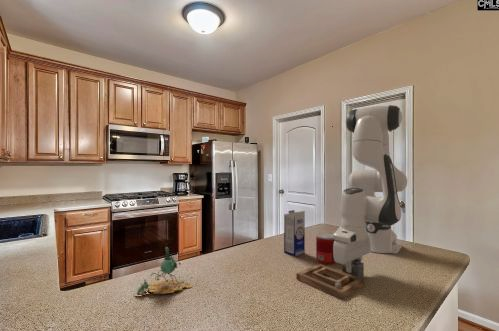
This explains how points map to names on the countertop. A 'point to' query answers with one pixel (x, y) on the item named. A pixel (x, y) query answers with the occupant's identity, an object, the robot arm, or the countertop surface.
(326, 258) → the canned food
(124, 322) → the countertop surface
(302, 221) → the milk carton
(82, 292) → the countertop surface
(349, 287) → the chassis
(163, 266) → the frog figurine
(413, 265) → the countertop surface
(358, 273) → the grey block
